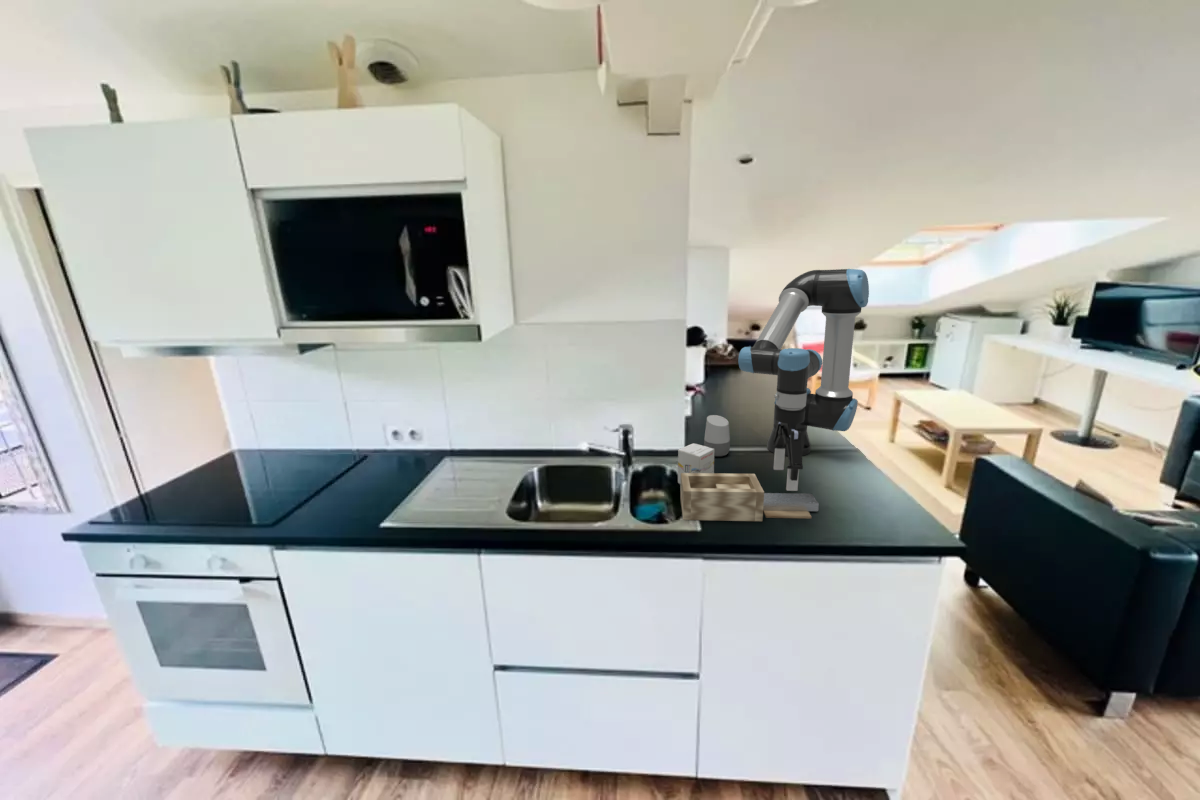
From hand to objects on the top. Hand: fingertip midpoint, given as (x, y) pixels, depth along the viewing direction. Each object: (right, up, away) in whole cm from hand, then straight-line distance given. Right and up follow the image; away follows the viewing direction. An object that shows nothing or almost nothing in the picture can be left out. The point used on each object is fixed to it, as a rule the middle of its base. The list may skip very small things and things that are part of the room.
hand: (784, 479), depth 136 cm
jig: (-18, -9, +2) cm, 20 cm away
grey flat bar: (+1, -8, +2) cm, 8 cm away
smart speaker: (-9, +2, +43) cm, 44 cm away
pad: (0, -8, +2) cm, 9 cm away
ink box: (-21, -5, +20) cm, 29 cm away
